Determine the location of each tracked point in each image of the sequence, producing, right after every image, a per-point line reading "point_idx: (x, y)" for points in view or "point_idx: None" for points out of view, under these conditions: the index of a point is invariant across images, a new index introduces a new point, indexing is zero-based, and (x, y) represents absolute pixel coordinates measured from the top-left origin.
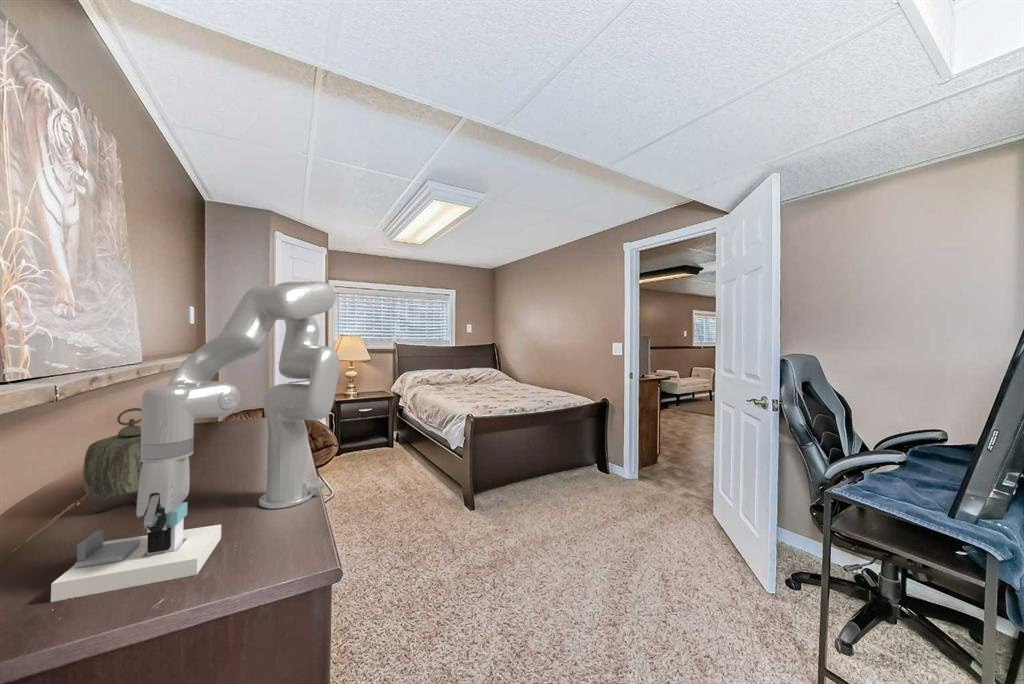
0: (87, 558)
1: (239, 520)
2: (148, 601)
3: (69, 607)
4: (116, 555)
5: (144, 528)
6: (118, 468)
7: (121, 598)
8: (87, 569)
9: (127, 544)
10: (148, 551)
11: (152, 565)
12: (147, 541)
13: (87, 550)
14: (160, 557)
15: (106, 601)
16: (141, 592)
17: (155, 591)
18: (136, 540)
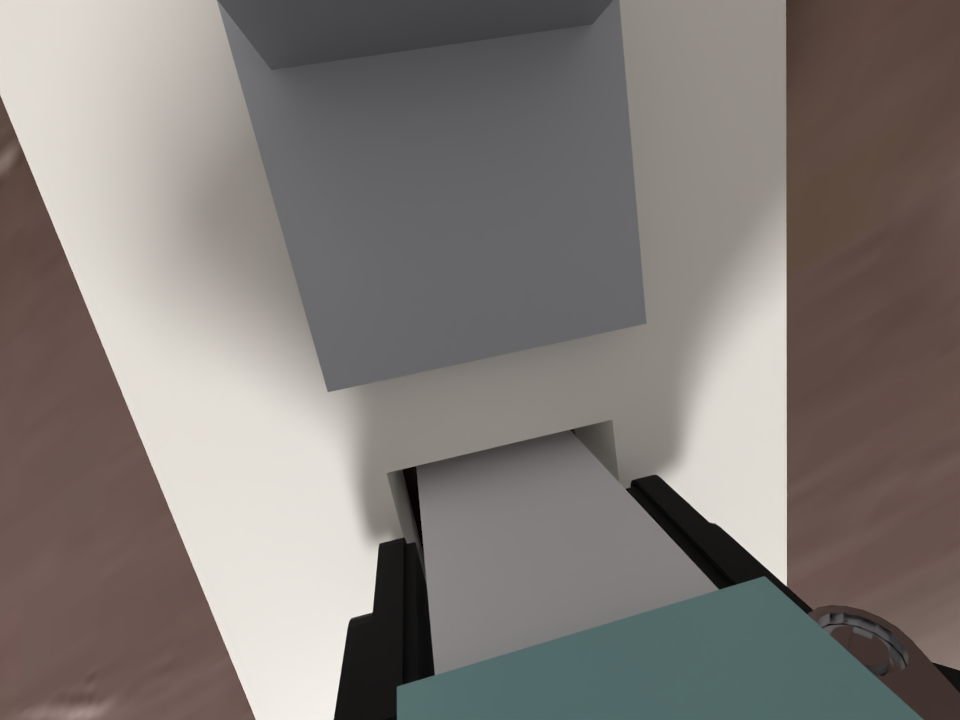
0: (319, 63)
1: (921, 580)
2: (78, 659)
3: (26, 258)
4: (340, 331)
5: (402, 697)
6: None
7: (116, 502)
8: (219, 168)
9: (561, 275)
10: (380, 551)
11: (235, 642)
12: (425, 564)
13: (298, 19)
14: (355, 614)
15: (87, 440)
16: (172, 566)
17: (177, 630)
18: (625, 307)
